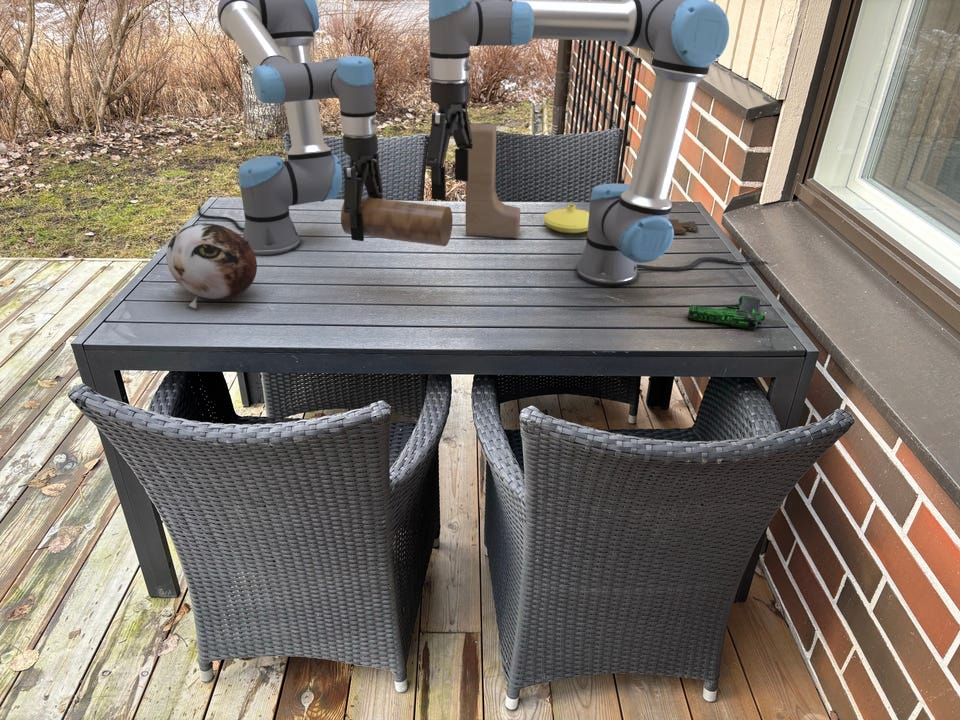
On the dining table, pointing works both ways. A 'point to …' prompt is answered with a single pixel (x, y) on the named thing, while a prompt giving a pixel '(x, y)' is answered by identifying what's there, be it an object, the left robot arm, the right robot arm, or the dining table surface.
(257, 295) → the dining table surface
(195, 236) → the cat face balloon
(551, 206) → the dining table surface
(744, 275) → the dining table surface
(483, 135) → the decorative block
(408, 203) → the rod
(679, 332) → the dining table surface
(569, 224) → the yellow lid
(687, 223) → the brown jagged flat piece
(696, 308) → the handgun
